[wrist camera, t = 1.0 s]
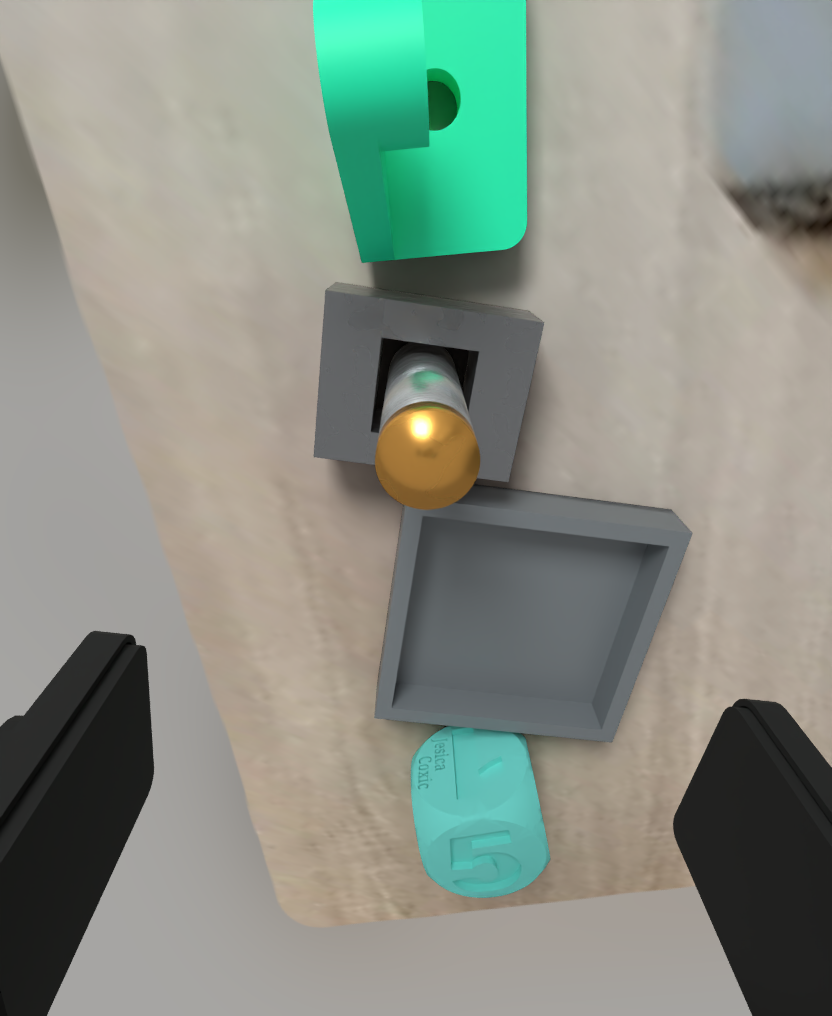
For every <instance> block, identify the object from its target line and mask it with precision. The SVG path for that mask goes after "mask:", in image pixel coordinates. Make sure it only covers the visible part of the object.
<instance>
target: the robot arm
mask: <svg viewBox="0 0 832 1016" xmlns="http://www.w3.org/2000/svg"><path fill="white" fill-rule="evenodd" d="M149 698H150V697H149V682H148V667H147V652H146V648H145V647H144V646H141V645H136V641H135V638H134V637H133V636H132V635H129V634H119V633H110V632H100V631H93V632H91V633H89V634H88V635H87V636H86V638H85V639H84V640H83V641H82V643H81V644H80V645H79V646H78V648H77V649H76V650H75V651H74V653H73V654H72V655H71V657H70V658H69V659H68V660H67V662H66V663H65V664H64V665H63V667H62V668H61V669H60V671H59V672H58V673H57V674H56V676H55V677H54V678H53V679H52V681H51V682H50V683H49V685H48V686H47V687H46V688H45V690H44V691H43V692H42V694H41V695H40V696H39V697H38V698H37V700H36V701H35V702H34V703H33V705H32V706H31V707H30V709H29V710H28V711H27V712H26V714H25V715H24V716H14V717H12V718H10V719H8V720H7V721H6V722H5V723H4V724H3V725H2V726H1V727H0V1016H47V1014H48V1012H49V1010H50V1007H51V1005H52V1003H53V1001H54V998H55V996H56V994H57V992H58V990H59V988H60V986H61V983H62V981H63V979H64V977H65V975H66V972H67V970H68V968H69V966H70V964H71V962H72V959H73V957H74V955H75V953H76V950H77V949H78V946H79V944H80V942H81V940H82V937H83V935H84V933H85V931H86V929H87V927H88V924H89V922H90V920H91V918H92V916H93V914H94V911H95V909H96V907H97V905H98V903H99V901H100V898H101V896H102V894H103V892H104V890H105V888H106V885H107V883H108V881H109V879H110V877H111V874H112V872H113V870H114V868H115V866H116V863H117V861H118V859H119V857H120V855H121V853H122V850H123V848H124V846H125V844H126V842H127V840H128V837H129V835H130V833H131V831H132V829H133V827H134V824H135V822H136V820H137V818H138V816H139V814H140V811H141V809H142V807H143V805H144V803H145V800H146V798H147V796H148V794H149V791H150V788H151V785H152V781H153V775H154V761H153V745H152V730H151V714H150V699H149ZM673 829H674V835H675V839H676V841H677V844H678V846H679V848H680V851H681V853H682V855H683V858H684V860H685V862H686V864H687V867H688V869H689V871H690V874H691V876H692V878H693V881H694V883H695V885H696V887H697V890H698V892H699V894H700V897H701V899H702V901H703V903H704V906H705V908H706V910H707V913H708V915H709V917H710V920H711V922H712V924H713V926H714V929H715V931H716V933H717V936H718V938H719V940H720V942H721V945H722V947H723V949H724V952H725V954H726V956H727V958H728V961H729V963H730V965H731V968H732V970H733V972H734V974H735V977H736V979H737V981H738V984H739V986H740V988H741V991H742V993H743V995H744V997H745V1000H746V1002H747V1004H748V1007H749V1009H750V1011H751V1013H752V1016H832V768H831V766H830V765H829V764H828V762H827V761H826V760H825V759H824V757H823V756H822V755H821V753H820V752H819V751H818V750H817V748H816V747H815V746H814V745H813V743H812V742H811V741H810V739H809V738H808V737H807V736H806V734H805V733H804V732H803V730H802V729H801V728H800V727H799V725H798V724H797V723H796V722H795V720H794V719H793V718H792V716H791V715H790V714H789V713H788V711H787V710H786V709H785V708H784V707H783V706H782V705H781V704H779V703H776V702H769V701H760V700H750V699H739V700H738V701H736V702H735V703H734V705H733V706H732V707H728V708H726V709H725V711H724V712H723V714H722V716H721V718H720V721H719V723H718V725H717V727H716V729H715V731H714V733H713V735H712V737H711V740H710V742H709V744H708V746H707V748H706V750H705V752H704V754H703V756H702V759H701V761H700V763H699V765H698V767H697V769H696V771H695V773H694V775H693V778H692V780H691V782H690V784H689V786H688V788H687V790H686V792H685V795H684V797H683V799H682V801H681V803H680V805H679V807H678V809H677V811H676V814H675V816H674V821H673Z"/></svg>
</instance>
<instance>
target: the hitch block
mask: <svg viewBox="0 0 832 1016" xmlns="http://www.w3.org/2000/svg"><path fill="white" fill-rule="evenodd" d="M543 326H544V322H543V321H542V320H540V319H539V318H538V317H536V316H535V315H534V314H533V313H531V312H530V311H527V310H520V309H513V308H506V307H500V306H493V305H486V304H480V303H473V302H466V301H459V300H453V299H446V298H439V297H432V296H426V295H419V294H412V293H405V292H399V291H392V290H385V289H378V288H372V287H365V286H358V285H351V284H345V283H338V282H336V283H334V284H333V285H332V286H330V287H329V288H328V289H326V291H325V305H324V319H323V333H322V347H321V361H320V375H319V389H318V403H317V417H316V431H315V445H314V457H318V458H325V459H333V460H341V461H349V462H356V463H364V464H372V465H375V454H376V448H377V441H378V435H379V429H380V423H381V417H382V411H383V410H377V409H375V407H376V399H377V390H378V381H379V372H380V364H381V355H382V346H383V338H388V339H395V340H402V341H409V342H416V343H423V344H430V345H437V346H444V347H451V348H458V349H465V350H469V355H468V361H467V367H466V372H465V378H464V384H463V389H462V392H463V396H464V399H465V402H466V406H467V409H468V413H469V416H470V420H471V423H472V426H473V430H474V433H475V437H476V440H477V444H478V447H479V451H480V469H479V473H478V476H477V478H480V479H488V480H496V481H503V482H509V477H510V473H511V468H512V464H513V459H514V455H515V451H516V446H517V442H518V437H519V433H520V428H521V424H522V420H523V415H524V411H525V406H526V402H527V397H528V393H529V388H530V384H531V380H532V375H533V371H534V366H535V362H536V357H537V353H538V348H539V344H540V340H541V335H542V331H543Z"/></svg>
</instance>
